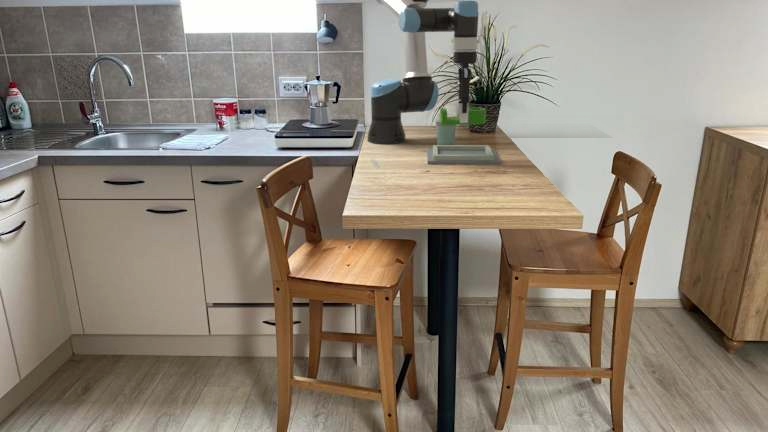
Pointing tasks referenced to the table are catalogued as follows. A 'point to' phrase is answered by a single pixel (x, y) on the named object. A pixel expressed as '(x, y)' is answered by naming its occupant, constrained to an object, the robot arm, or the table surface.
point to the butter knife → (374, 163)
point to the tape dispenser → (474, 117)
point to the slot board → (462, 154)
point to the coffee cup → (445, 131)
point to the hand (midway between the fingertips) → (463, 120)
